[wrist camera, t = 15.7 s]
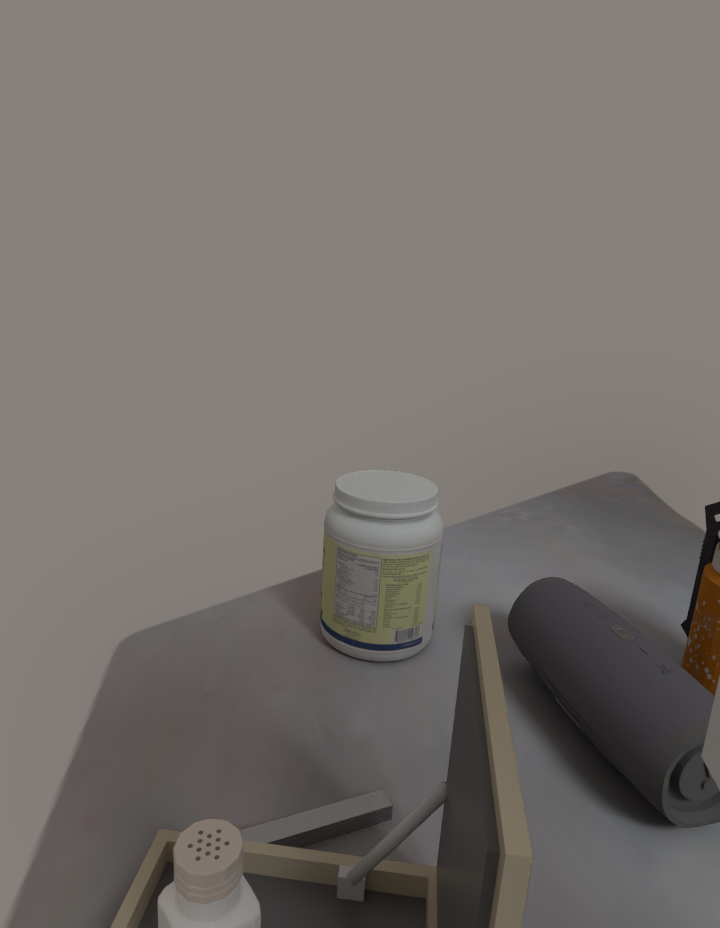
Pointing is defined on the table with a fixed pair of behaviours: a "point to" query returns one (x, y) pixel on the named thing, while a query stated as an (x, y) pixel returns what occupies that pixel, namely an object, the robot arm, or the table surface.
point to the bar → (323, 821)
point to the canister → (705, 610)
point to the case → (401, 839)
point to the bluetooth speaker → (621, 696)
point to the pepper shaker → (209, 881)
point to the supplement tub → (381, 565)
